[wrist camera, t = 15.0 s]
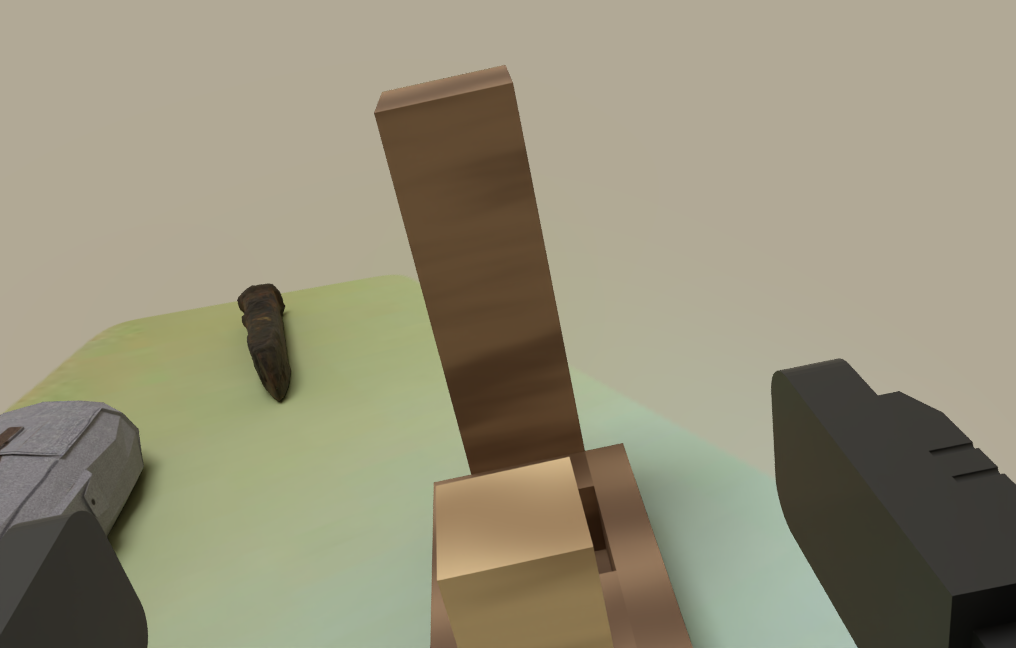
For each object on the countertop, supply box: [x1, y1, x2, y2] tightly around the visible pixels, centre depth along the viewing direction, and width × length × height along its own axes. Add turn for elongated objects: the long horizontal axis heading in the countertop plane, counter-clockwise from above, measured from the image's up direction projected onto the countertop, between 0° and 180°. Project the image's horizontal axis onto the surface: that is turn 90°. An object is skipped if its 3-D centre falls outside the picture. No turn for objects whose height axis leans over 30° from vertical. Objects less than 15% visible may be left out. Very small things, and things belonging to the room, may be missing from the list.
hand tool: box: [237, 284, 291, 401], centre depth 74 cm, size 19×4×5 cm, turn 16°
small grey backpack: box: [0, 401, 144, 540], centre depth 54 cm, size 15×8×20 cm
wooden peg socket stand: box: [374, 65, 693, 648], centre depth 32 cm, size 29×10×24 cm, turn 4°
